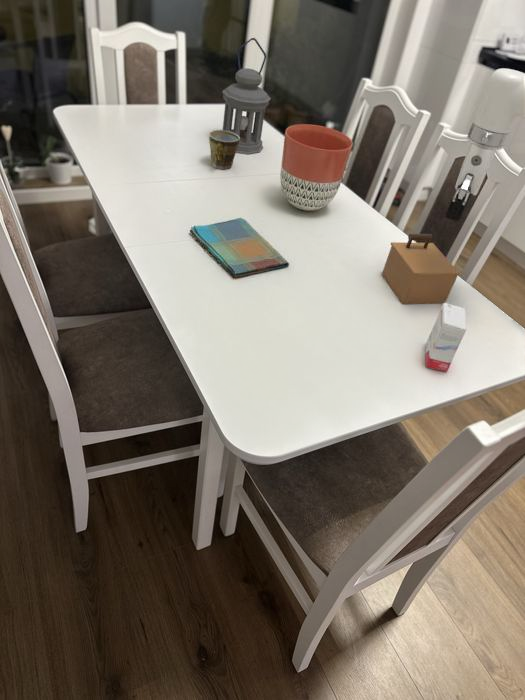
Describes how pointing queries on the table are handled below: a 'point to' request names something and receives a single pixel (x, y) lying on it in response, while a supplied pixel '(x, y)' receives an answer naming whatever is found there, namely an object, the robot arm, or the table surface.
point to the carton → (415, 283)
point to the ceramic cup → (223, 148)
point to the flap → (423, 256)
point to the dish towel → (238, 247)
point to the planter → (313, 165)
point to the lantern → (246, 107)
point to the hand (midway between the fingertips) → (455, 211)
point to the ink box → (445, 337)
